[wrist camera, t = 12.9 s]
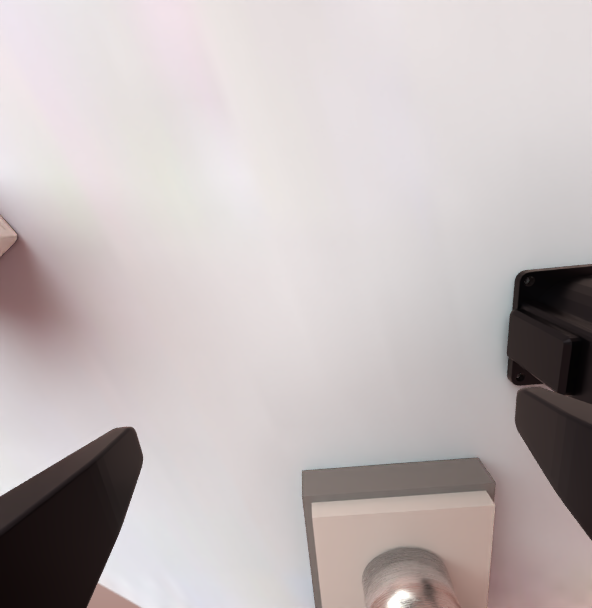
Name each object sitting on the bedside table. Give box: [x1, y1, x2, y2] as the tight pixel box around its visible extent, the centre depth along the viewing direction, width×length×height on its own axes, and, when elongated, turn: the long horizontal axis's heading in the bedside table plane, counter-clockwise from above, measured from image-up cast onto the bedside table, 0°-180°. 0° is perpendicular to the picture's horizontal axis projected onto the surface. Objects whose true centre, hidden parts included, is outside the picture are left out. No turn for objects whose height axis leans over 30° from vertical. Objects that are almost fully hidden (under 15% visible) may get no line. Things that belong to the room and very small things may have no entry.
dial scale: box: [302, 458, 495, 608], centre depth 21 cm, size 11×14×6 cm
